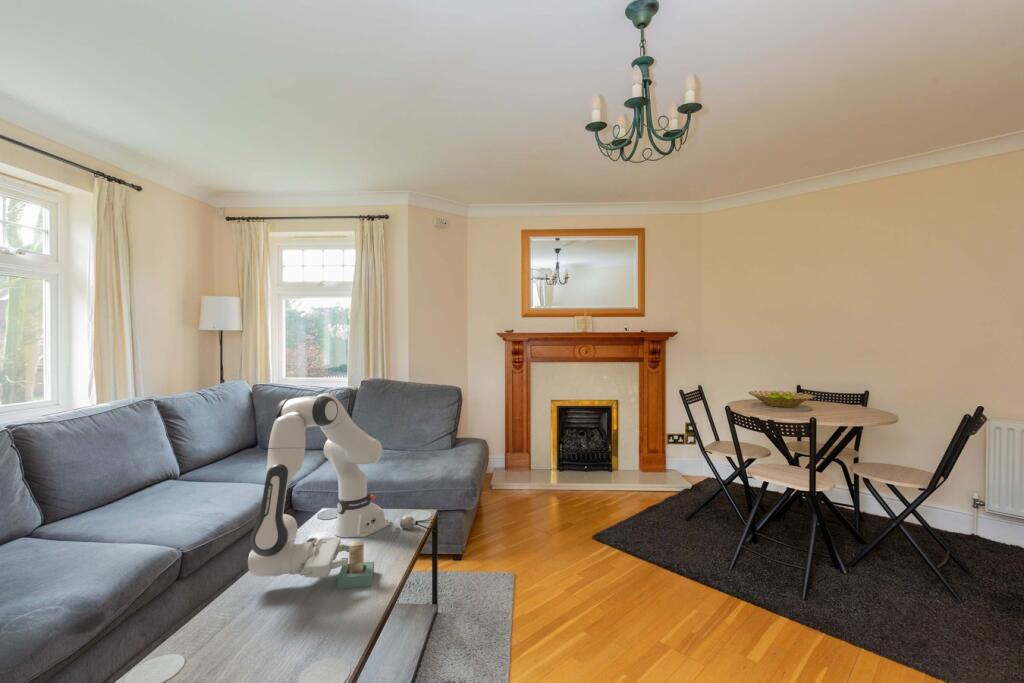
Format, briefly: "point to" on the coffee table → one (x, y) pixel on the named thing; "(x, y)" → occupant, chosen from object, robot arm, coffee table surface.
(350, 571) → the light wooden block
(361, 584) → the sage square frame
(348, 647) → the coffee table surface
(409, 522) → the reed diffuser
